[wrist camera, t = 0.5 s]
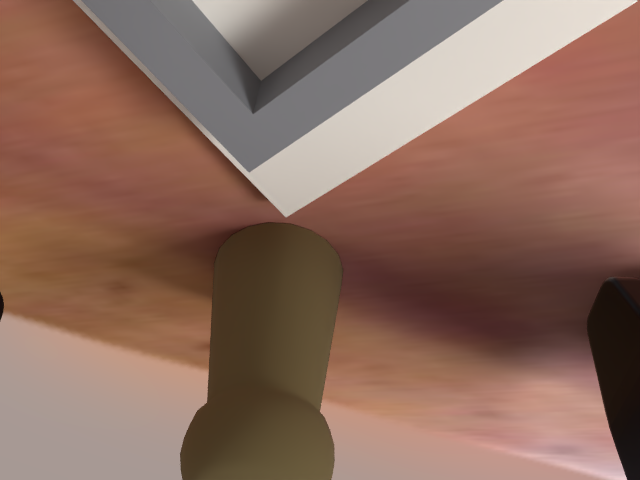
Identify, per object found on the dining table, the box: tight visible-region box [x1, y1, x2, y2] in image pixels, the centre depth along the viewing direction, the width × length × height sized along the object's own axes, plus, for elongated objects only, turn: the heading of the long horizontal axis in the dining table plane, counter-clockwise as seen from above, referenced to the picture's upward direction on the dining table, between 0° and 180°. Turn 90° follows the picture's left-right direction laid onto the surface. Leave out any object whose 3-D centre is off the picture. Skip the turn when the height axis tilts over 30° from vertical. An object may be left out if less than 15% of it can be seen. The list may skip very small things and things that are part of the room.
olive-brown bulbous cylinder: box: [180, 223, 343, 480], centre depth 22 cm, size 6×6×11 cm
